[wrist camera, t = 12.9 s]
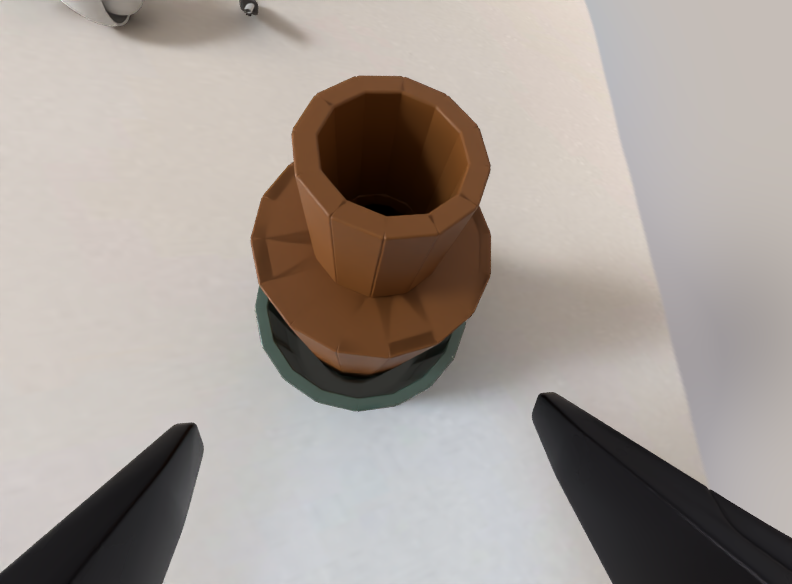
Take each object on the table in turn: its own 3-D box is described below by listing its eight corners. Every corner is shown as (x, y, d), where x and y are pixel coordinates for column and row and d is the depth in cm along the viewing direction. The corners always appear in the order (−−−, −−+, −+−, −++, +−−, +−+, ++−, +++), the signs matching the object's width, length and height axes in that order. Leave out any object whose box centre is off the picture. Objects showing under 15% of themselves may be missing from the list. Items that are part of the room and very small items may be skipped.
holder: (458, 286, 19) (489, 255, 15) (403, 434, 16) (423, 449, 12) (326, 226, 19) (319, 179, 15) (246, 364, 16) (209, 354, 12)
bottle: (436, 330, 18) (632, 193, 6) (351, 402, 16) (361, 433, 4) (371, 252, 19) (414, -16, 6) (283, 311, 17) (111, 95, 5)
